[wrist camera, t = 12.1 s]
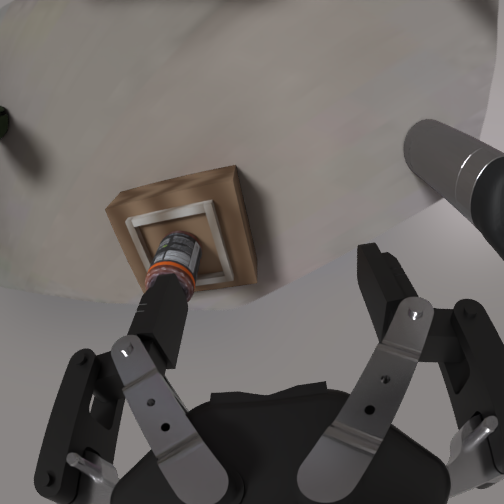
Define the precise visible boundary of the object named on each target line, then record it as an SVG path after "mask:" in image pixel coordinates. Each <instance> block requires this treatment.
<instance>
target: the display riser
mask: <svg viewBox="0 0 504 504" xmlns="http://www.w3.org/2000/svg"><path fill="white" fill-rule="evenodd" d="M105 211H106V213H107V216H108V218H109V220H110V223H111V225H112V227H113V229H114V232H115V234H116V236H117V238H118V241H119V243H120V245H121V247H122V249H123V252H124V254H125V256H126V258H127V260H128V262H129V264H130V266H131V268H132V270H133V273H134V275H135V277H136V279H137V281H138V283H139V285H140V287H141V289H142V290H143V292H144V293H145V292H146V288H145V278H146V275H147V272H148V270H149V267H150V265H151V263H152V261H153V258H154V256H155V254H156V251H157V249H158V247H159V245H160V242H161V241H162V239H163V238H164V236H166V235H167V234H168V233H170V232H173V231H186V232H189V233H191V234H192V235H194V236H195V237H196V238H197V239H198V240H199V242H200V244H201V246H202V257H201V262H200V266H199V271H198V275H197V280H196V284H195V289H194V292H196V291H203V290H211V289H219V288H226V287H233V286H240V285H247V284H254V283H257V257H256V252H255V248H254V243H253V239H252V235H251V230H250V226H249V221H248V217H247V213H246V208H245V204H244V200H243V195H242V191H241V186H240V182H239V178H238V173H237V169H236V165H233V166H228V167H223V168H218V169H213V170H208V171H204V172H199V173H195V174H190V175H186V176H181V177H177V178H173V179H169V180H164V181H160V182H156V183H152V184H149V185H145V186H141V187H137V188H133V189H130V190H126V191H122V192H120V193H119V195H118V196H117V197H116V198H115V199H114V200H113V201H112V202H111V203H110V204H109V206H108V207H107V208H106V209H105Z"/></svg>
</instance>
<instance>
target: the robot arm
mask: <svg viewBox="0 0 504 504" xmlns="http://www.w3.org/2000/svg"><path fill="white" fill-rule="evenodd" d="M404 157H405V160H406V163H407V164H408V166H409V168H410V169H411V170H412V171H413V172H414V173H416V174H417V175H418V176H419V177H420V178H422V179H423V180H424V181H425V182H426V183H427V184H429V185H430V186H431V187H432V188H433V189H435V190H436V191H437V192H438V193H439V194H440V195H441V196H443V197H444V198H445V199H446V200H447V201H448V202H449V203H450V204H452V205H453V206H454V207H455V208H456V209H457V210H458V211H459V212H460V213H461V214H463V216H465V217H466V218H467V219H468V220H469V221H470V222H471V223H472V224H473V225H474V226H475V227H476V228H477V229H478V230H479V231H480V232H481V233H482V235H483V236H484V238H485V239H486V240H487V242H488V243H489V244H490V245H491V246H492V247H493V248H494V250H495V251H496V252H497V253H498V254H499V256H500V257H501V258H502V259H503V260H504V153H503V152H501V151H499V150H497V149H495V148H493V147H491V146H489V145H487V144H486V143H484V142H482V141H480V140H478V139H476V138H474V137H472V136H470V135H468V134H466V133H463V132H461V131H459V130H457V129H455V128H452V127H450V126H448V125H446V124H443V123H441V122H439V121H436V120H432V119H426V120H422V121H420V122H418V123H416V124H415V125H414V126H413V127H412V128H411V129H410V131H409V132H408V134H407V136H406V138H405V142H404ZM357 279H358V284H359V288H360V290H361V293H362V296H363V298H364V301H365V303H366V306H367V309H368V312H369V314H370V317H371V320H372V323H373V325H374V328H375V331H376V334H377V337H378V339H379V343H378V345H377V346H376V348H375V350H374V353H373V354H372V356H371V358H370V360H369V362H368V364H367V366H366V368H365V369H364V371H363V373H362V375H361V377H360V378H359V380H358V382H357V384H356V386H355V388H354V389H353V391H352V392H351V394H348V393H346V392H343V391H339V390H333V389H327V385H326V381H324V382H318V383H311V384H304V385H297V386H295V387H292V388H289V389H286V390H283V391H280V392H277V393H274V394H271V395H258V394H250V393H244V392H224V393H211V398H210V401H209V402H206V403H203V404H201V405H199V406H197V407H195V408H194V409H192V410H190V411H188V409H187V408H186V407H185V405H184V404H183V402H182V401H181V399H180V398H179V396H178V395H177V393H176V392H175V390H174V389H173V387H172V386H171V384H170V382H169V381H168V379H167V378H166V376H165V371H166V369H175V367H176V363H177V357H178V353H179V348H180V344H181V339H182V334H183V330H184V326H185V321H186V317H187V312H188V303H187V299H186V297H185V294H184V292H183V290H182V287H181V285H180V283H179V280H178V278H177V276H176V274H175V273H170V274H164V275H158V276H157V278H156V281H155V283H154V286H153V287H150V288H149V289H148V290H147V291H146V292H145V293H144V294H143V296H142V298H141V301H140V303H139V306H138V308H137V312H136V313H135V316H134V319H133V321H132V324H131V326H130V329H129V332H128V334H127V336H123V337H121V338H120V339H118V340H117V341H116V342H115V343H114V345H113V346H112V349H111V351H109V352H106V353H103V354H100V355H97V356H96V355H95V353H94V352H93V351H92V350H91V349H82V350H79V351H78V352H76V353H75V354H74V355H73V356H72V358H71V359H70V361H69V364H68V367H67V369H66V372H65V375H64V377H63V380H62V383H61V386H60V389H59V391H58V394H57V397H56V400H55V403H54V406H53V409H52V412H51V415H50V419H49V423H48V425H47V429H46V432H45V436H44V439H43V443H42V447H41V450H40V454H39V458H38V463H37V467H36V471H35V475H34V485H35V488H36V490H37V492H38V493H39V494H40V495H41V496H43V497H45V498H47V499H49V500H52V501H54V502H56V503H57V504H447V501H448V499H449V498H451V497H454V496H456V495H459V494H461V493H464V492H466V491H469V490H471V489H474V488H478V489H485V488H488V487H489V486H492V485H493V484H495V483H497V482H499V481H501V480H503V479H504V344H503V342H502V341H501V339H500V337H499V335H498V333H497V331H496V329H495V327H494V325H493V323H492V322H491V320H490V318H489V316H488V314H487V313H486V311H485V309H484V307H483V306H482V305H481V304H480V303H479V302H477V301H475V300H472V299H463V300H460V301H458V302H457V303H456V304H455V306H454V309H436V308H433V306H432V305H431V303H430V302H429V301H427V300H425V299H423V298H421V297H418V295H417V293H416V291H415V289H414V288H413V286H412V284H411V282H410V281H409V279H408V277H407V275H406V274H405V272H404V270H403V268H401V265H400V263H399V262H398V260H397V258H395V257H394V256H393V255H391V254H390V253H388V252H386V253H381V252H380V250H379V248H378V246H377V245H376V243H368V244H362V245H358V248H357ZM418 362H438V364H439V367H440V369H441V372H442V375H443V378H444V381H445V384H446V388H447V390H448V394H449V397H450V400H451V404H452V407H453V411H454V414H455V417H456V421H457V425H458V429H459V431H458V432H457V433H456V434H455V435H454V437H453V438H452V441H451V444H450V458H449V461H448V463H447V465H446V466H445V464H444V463H443V462H442V461H441V460H440V459H439V458H438V457H437V456H435V455H434V454H432V453H431V452H430V451H428V450H427V449H425V448H424V447H423V446H421V445H420V444H418V443H417V442H416V441H414V440H413V439H411V438H410V437H409V436H407V435H406V434H405V433H403V432H402V431H400V430H399V429H398V428H396V427H395V426H394V425H392V424H391V423H392V421H393V419H394V417H395V415H396V413H397V411H398V408H399V406H400V404H401V402H402V399H403V397H404V395H405V393H406V390H407V388H408V386H409V383H410V381H411V378H412V375H413V373H414V371H415V368H416V366H417V363H418ZM92 394H93V395H94V396H95V397H94V401H93V404H92V409H91V412H89V405H90V401H91V398H92ZM125 398H126V400H127V402H128V404H129V406H130V408H131V410H132V412H133V414H134V416H135V419H136V420H137V422H138V424H139V426H140V428H141V430H142V432H143V434H144V436H145V438H146V440H147V441H148V443H149V445H150V447H151V450H150V451H149V452H148V453H147V454H146V455H145V456H144V457H143V458H142V459H141V460H140V461H139V462H138V463H137V464H136V465H135V466H134V467H133V468H132V469H131V470H130V471H129V472H128V473H127V474H126V475H124V476H123V477H122V478H121V479H120V480H119V478H118V474H117V470H116V468H115V467H114V466H113V460H114V454H115V448H116V442H117V436H118V431H119V426H120V421H121V416H122V411H123V406H124V402H125Z"/></svg>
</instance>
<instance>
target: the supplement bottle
mask: <svg viewBox="0 0 504 504" xmlns="http://www.w3.org/2000/svg"><path fill="white" fill-rule="evenodd" d="M201 257H202V246H201V244H200V242H199V240H198V239H197V238H196V237H195V236H194V235H192V234H191V233H189V232H186V231H173V232H170V233H168V234H167V235H166V236H164V238H163V239H162V241H161V242H160V245H159V247H158V249H157V251H156V254H155V256H154V258H153V261H152V263H151V265H150V267H149V270H148V272H147V275H146V278H145V288H146V291H147V290H148V289H149V288H150V287H153V286H154V283H155V281H156V278H157V276H158V275H164V274H170V273H175V274H176V276H177V278H178V280H179V283H180V285H181V287H182V290H183V292H184V294H185V297H186V299H187V302H188V301H189V300H190V299H191V298H192V296H193V293H194V289H195V284H196V280H197V275H198V271H199V266H200V262H201Z"/></svg>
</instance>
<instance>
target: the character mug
mask: <svg viewBox="0 0 504 504" xmlns="http://www.w3.org/2000/svg"><path fill="white" fill-rule="evenodd" d="M4 110H5V109H4V108H3V107H1V106H0V112H2V111H4ZM7 128H8V116H7V114H5V115H3V116H2V114H1V113H0V139H1V138H2V137H3V136H4V134H5V133H6V131H7Z"/></svg>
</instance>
